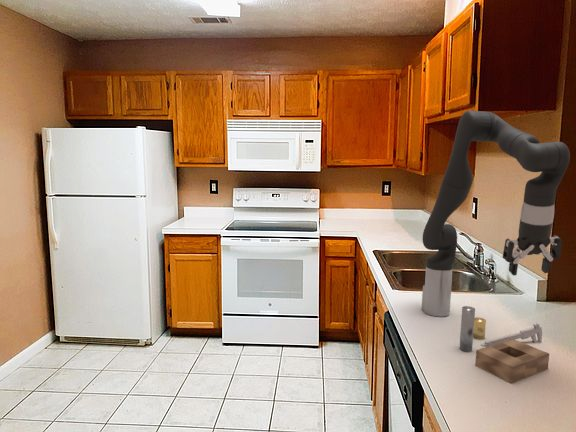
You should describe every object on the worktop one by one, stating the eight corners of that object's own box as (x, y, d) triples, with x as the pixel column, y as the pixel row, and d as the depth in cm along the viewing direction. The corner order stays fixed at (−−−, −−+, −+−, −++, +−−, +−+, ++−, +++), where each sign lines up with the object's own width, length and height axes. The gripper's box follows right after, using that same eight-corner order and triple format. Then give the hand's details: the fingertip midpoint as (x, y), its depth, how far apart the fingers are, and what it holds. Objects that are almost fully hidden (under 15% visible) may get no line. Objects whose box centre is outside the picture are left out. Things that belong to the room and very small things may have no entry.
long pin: (456, 348, 132) (459, 307, 130) (464, 345, 134) (467, 305, 132) (466, 353, 129) (469, 311, 127) (474, 350, 131) (477, 309, 129)
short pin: (470, 336, 141) (471, 318, 140) (477, 334, 143) (478, 316, 142) (479, 340, 138) (480, 322, 137) (487, 338, 140) (488, 320, 139)
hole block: (475, 365, 122) (476, 350, 121) (510, 352, 130) (512, 338, 129) (511, 383, 112) (512, 367, 112) (547, 368, 120) (549, 353, 119)
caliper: (538, 341, 138) (540, 322, 137) (541, 342, 137) (543, 323, 136) (480, 346, 135) (482, 326, 134) (482, 347, 134) (484, 328, 133)
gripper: (555, 211, 117) (547, 264, 123) (502, 215, 117) (496, 268, 123) (572, 221, 110) (563, 278, 116) (516, 226, 110) (509, 281, 116)
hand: (528, 273), depth 119 cm, fingers open, 8 cm apart
